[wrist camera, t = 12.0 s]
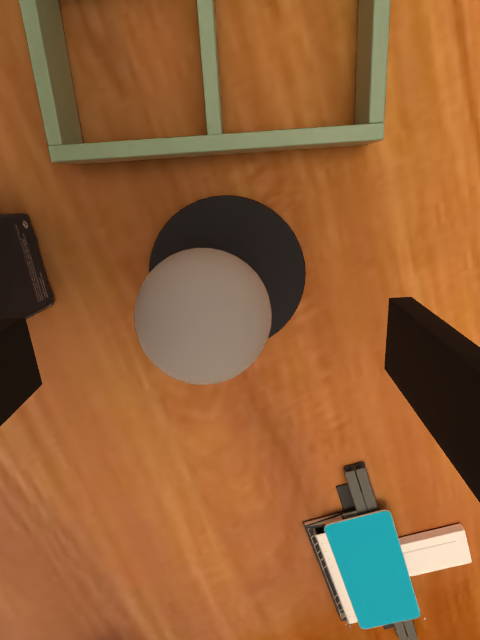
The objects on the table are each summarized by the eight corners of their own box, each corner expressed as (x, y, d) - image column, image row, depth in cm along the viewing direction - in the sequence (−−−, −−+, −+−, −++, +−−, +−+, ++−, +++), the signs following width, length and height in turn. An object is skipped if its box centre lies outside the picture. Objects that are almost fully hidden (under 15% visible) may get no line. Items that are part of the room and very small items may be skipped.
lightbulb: (171, 223, 25) (114, 253, 14) (270, 233, 25) (286, 271, 14) (167, 317, 27) (114, 403, 16) (259, 326, 27) (265, 419, 16)
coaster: (140, 200, 25) (138, 201, 24) (303, 190, 24) (304, 190, 24) (160, 350, 28) (159, 352, 27) (305, 343, 27) (306, 345, 27)
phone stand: (482, 620, 36) (492, 640, 34) (351, 647, 37) (355, 668, 36) (441, 440, 30) (451, 454, 28) (287, 481, 31) (289, 497, 30)
